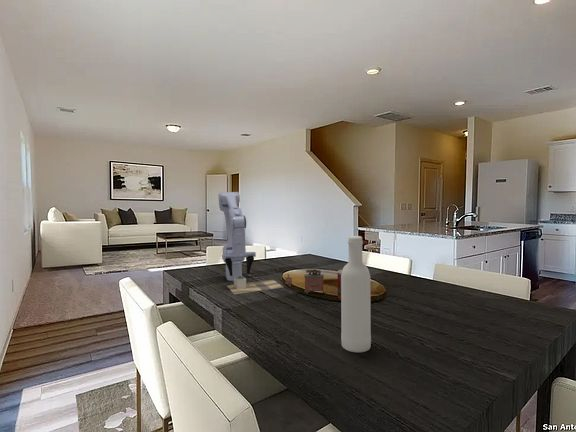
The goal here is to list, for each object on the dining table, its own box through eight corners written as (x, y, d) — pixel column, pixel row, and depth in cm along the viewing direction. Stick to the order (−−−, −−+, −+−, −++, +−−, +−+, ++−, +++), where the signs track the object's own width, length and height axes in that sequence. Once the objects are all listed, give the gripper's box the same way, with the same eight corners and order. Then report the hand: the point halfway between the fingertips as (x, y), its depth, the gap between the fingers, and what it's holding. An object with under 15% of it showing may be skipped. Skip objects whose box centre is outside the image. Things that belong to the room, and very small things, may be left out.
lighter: (323, 291, 141) (323, 268, 140) (323, 293, 137) (323, 270, 136) (304, 291, 141) (304, 268, 141) (304, 293, 138) (304, 269, 137)
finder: (234, 285, 148) (233, 276, 148) (242, 284, 149) (242, 275, 149) (237, 289, 142) (237, 279, 142) (246, 287, 144) (246, 278, 144)
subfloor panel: (226, 288, 148) (226, 285, 148) (272, 282, 157) (272, 279, 156) (234, 297, 135) (234, 294, 135) (284, 289, 144) (284, 287, 144)
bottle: (376, 345, 91) (376, 236, 89) (361, 356, 85) (361, 239, 83) (350, 337, 96) (350, 234, 94) (335, 346, 90) (334, 237, 88)
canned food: (334, 300, 129) (334, 272, 128) (341, 294, 136) (341, 268, 135) (354, 303, 125) (354, 274, 124) (360, 297, 132) (359, 269, 131)
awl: (284, 285, 150) (284, 273, 150) (290, 284, 151) (290, 272, 151) (286, 287, 147) (286, 274, 147) (293, 286, 149) (292, 274, 148)
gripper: (224, 246, 138) (225, 278, 139) (257, 243, 144) (258, 274, 144) (220, 243, 144) (221, 274, 145) (252, 241, 150) (253, 271, 151)
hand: (239, 274), depth 145 cm, fingers open, 7 cm apart
